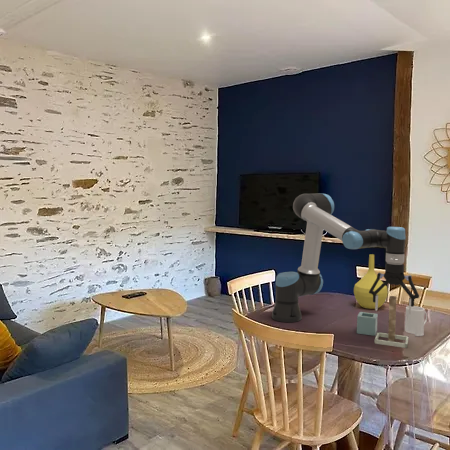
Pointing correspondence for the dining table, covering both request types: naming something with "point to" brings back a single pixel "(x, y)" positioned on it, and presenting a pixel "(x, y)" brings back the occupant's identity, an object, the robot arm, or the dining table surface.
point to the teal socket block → (367, 323)
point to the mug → (415, 320)
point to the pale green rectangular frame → (391, 341)
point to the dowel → (392, 318)
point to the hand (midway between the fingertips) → (392, 311)
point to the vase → (365, 285)
